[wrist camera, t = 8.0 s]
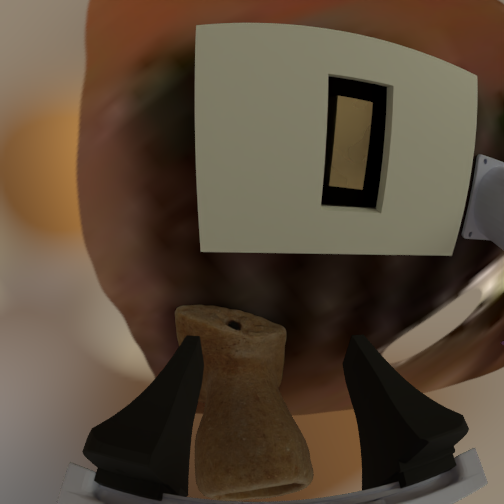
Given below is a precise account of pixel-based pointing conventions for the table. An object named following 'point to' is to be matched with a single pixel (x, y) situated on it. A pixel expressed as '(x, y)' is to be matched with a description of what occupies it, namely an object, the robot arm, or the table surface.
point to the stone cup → (243, 407)
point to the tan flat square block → (347, 141)
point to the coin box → (314, 143)
